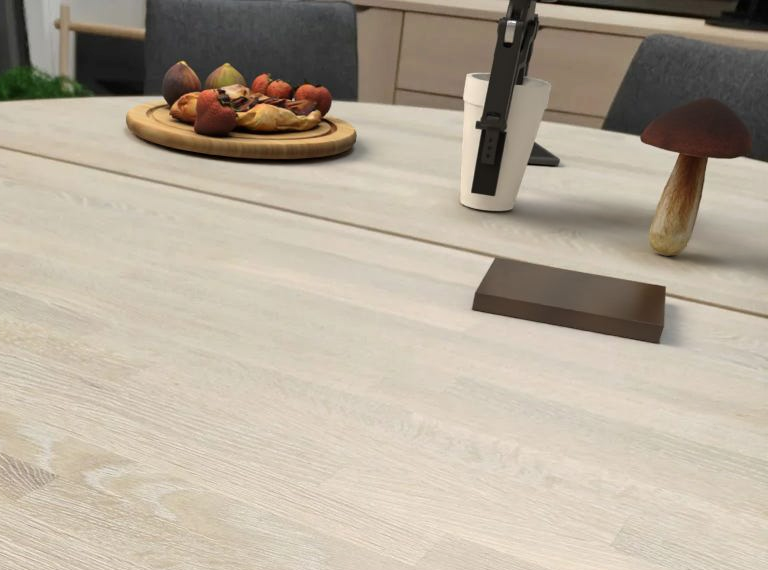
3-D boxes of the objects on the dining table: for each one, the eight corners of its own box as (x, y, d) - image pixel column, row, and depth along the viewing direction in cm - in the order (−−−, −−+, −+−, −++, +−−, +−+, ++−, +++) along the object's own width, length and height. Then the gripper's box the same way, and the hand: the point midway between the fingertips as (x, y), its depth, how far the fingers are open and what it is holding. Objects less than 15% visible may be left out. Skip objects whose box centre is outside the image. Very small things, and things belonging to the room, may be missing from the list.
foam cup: (508, 218, 113) (533, 89, 105) (434, 203, 116) (453, 76, 108) (536, 204, 119) (562, 82, 112) (466, 190, 123) (486, 70, 115)
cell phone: (531, 145, 151) (532, 139, 151) (560, 165, 140) (562, 160, 140) (485, 142, 150) (486, 136, 150) (510, 162, 139) (511, 156, 139)
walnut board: (661, 302, 93) (666, 286, 92) (658, 343, 84) (664, 325, 83) (492, 273, 96) (495, 257, 95) (471, 309, 87) (474, 292, 86)
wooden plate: (282, 177, 122) (287, 101, 117) (77, 132, 133) (74, 61, 128) (392, 143, 144) (401, 78, 140) (209, 107, 156) (211, 46, 151)
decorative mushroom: (671, 274, 101) (722, 109, 92) (591, 244, 108) (630, 88, 99) (738, 264, 106) (791, 107, 97) (657, 236, 113) (700, 87, 104)
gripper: (509, -51, 113) (473, 164, 126) (479, -49, 95) (440, 199, 109) (576, -44, 111) (532, 173, 124) (557, -41, 94) (508, 210, 107)
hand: (489, 185), depth 117 cm, fingers closed on foam cup, 9 cm apart
